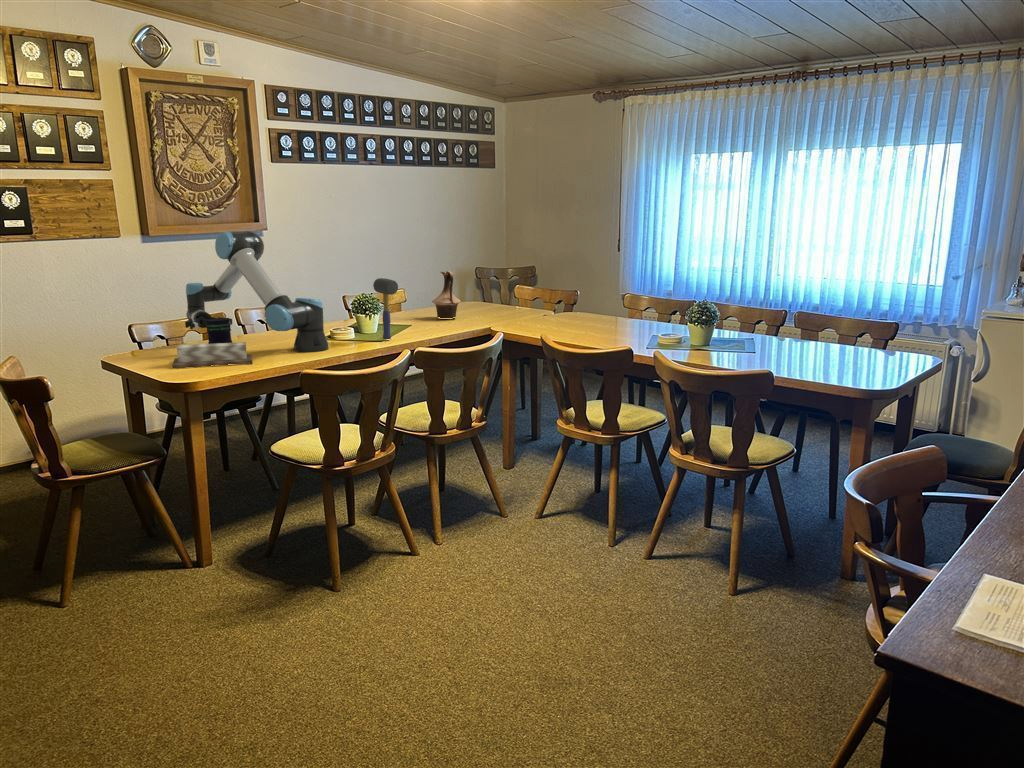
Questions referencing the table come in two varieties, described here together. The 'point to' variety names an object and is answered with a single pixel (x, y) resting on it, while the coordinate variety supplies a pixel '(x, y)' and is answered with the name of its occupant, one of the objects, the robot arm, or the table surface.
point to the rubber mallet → (386, 301)
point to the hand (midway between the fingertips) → (213, 325)
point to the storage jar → (218, 330)
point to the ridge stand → (211, 355)
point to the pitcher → (446, 298)
